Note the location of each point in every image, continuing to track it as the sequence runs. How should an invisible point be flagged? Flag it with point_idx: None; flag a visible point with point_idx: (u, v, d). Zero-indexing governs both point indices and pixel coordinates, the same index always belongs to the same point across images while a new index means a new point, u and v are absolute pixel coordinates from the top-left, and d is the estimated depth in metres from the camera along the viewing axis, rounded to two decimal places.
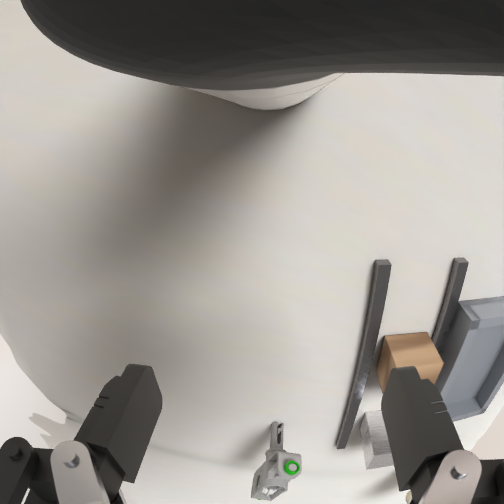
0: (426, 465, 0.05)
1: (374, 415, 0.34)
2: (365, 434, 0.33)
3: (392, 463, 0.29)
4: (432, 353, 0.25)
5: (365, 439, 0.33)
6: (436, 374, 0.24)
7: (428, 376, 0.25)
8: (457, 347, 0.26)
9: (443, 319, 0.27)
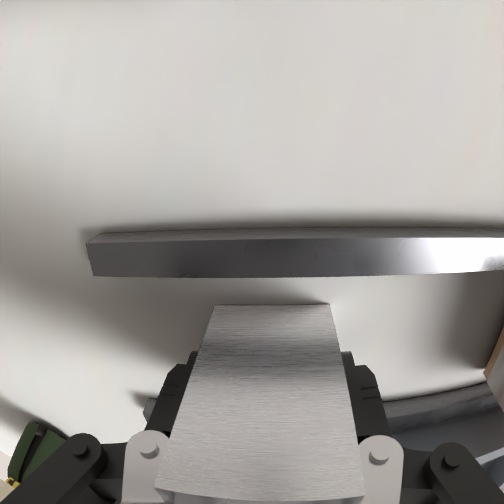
0: None
1: None
2: (272, 352, 0.08)
3: None
4: None
5: (257, 366, 0.08)
6: None
7: None
8: None
9: None
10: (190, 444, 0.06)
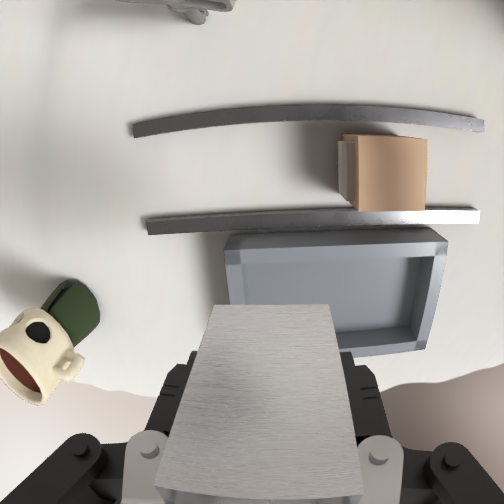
0: None
1: None
2: (271, 351, 0.08)
3: None
4: None
5: (256, 365, 0.08)
6: (406, 206, 0.19)
7: (406, 193, 0.19)
8: (403, 239, 0.23)
9: None
10: (189, 442, 0.06)
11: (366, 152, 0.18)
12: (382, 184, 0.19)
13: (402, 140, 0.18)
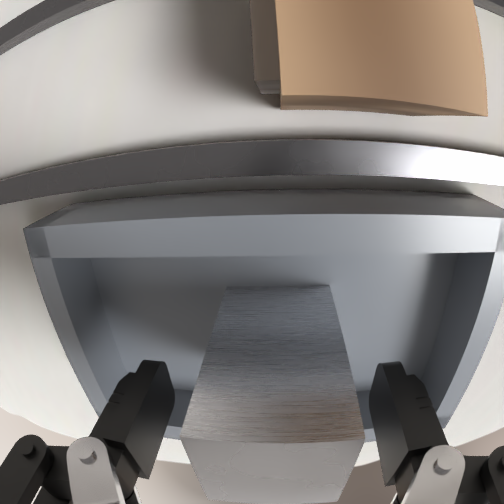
0: (409, 460, 0.06)
1: None
2: (280, 323, 0.10)
3: (225, 495, 0.07)
4: None
5: (267, 334, 0.09)
6: (439, 93, 0.05)
7: (432, 55, 0.05)
8: (427, 209, 0.09)
9: (462, 150, 0.09)
10: (211, 398, 0.07)
11: None
12: (354, 18, 0.05)
13: None
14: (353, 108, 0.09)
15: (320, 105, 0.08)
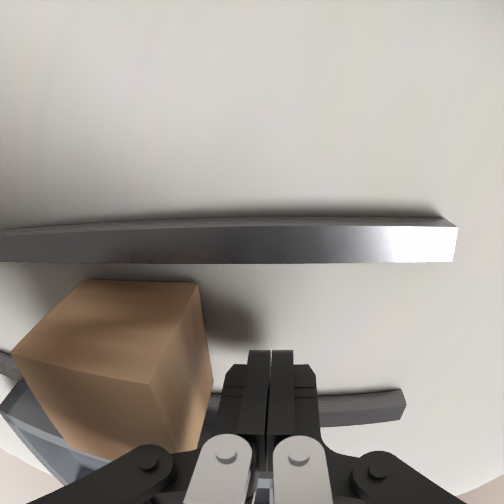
0: (275, 445, 0.07)
1: None
2: None
3: None
4: (194, 433, 0.10)
5: None
6: None
7: None
8: None
9: None
10: None
11: (34, 382, 0.07)
12: (84, 431, 0.08)
13: (86, 378, 0.07)
14: None
15: None
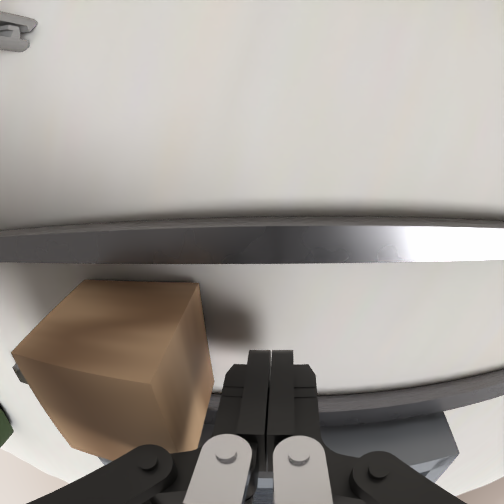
0: (276, 445, 0.07)
1: None
2: None
3: None
4: (195, 433, 0.10)
5: None
6: None
7: None
8: None
9: (433, 398, 0.12)
10: None
11: (35, 382, 0.07)
12: (85, 431, 0.08)
13: (87, 377, 0.07)
14: None
15: None
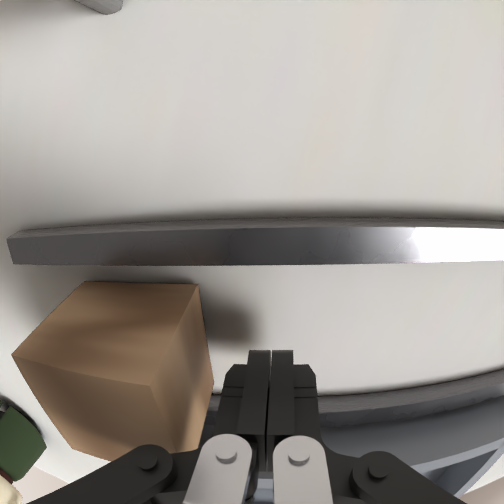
0: (275, 445, 0.07)
1: None
2: None
3: None
4: (195, 434, 0.10)
5: None
6: None
7: None
8: (467, 439, 0.10)
9: (502, 382, 0.11)
10: None
11: (35, 384, 0.07)
12: (85, 432, 0.08)
13: (87, 379, 0.07)
14: None
15: None
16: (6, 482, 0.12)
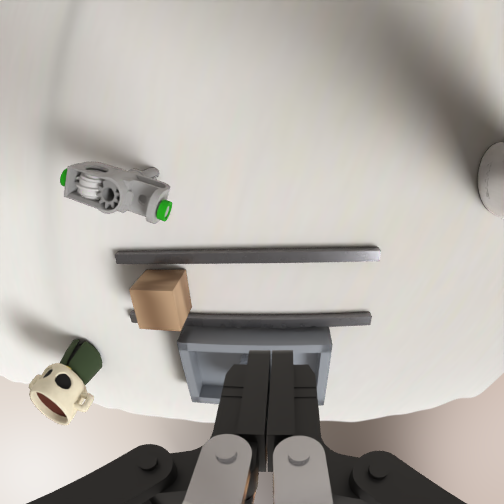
0: (275, 446, 0.07)
1: None
2: None
3: None
4: (183, 317, 0.34)
5: None
6: (167, 328, 0.32)
7: (165, 321, 0.32)
8: (297, 341, 0.35)
9: (318, 318, 0.35)
10: None
11: (135, 298, 0.31)
12: (148, 315, 0.32)
13: (155, 292, 0.31)
14: None
15: None
16: (81, 380, 0.36)
